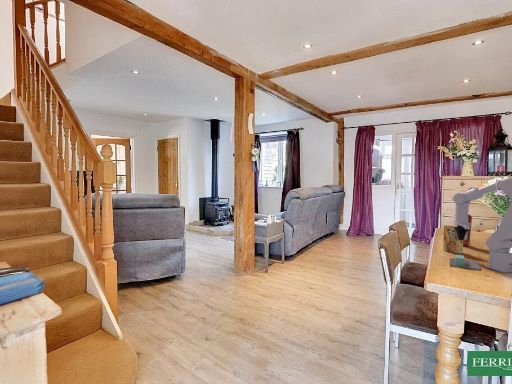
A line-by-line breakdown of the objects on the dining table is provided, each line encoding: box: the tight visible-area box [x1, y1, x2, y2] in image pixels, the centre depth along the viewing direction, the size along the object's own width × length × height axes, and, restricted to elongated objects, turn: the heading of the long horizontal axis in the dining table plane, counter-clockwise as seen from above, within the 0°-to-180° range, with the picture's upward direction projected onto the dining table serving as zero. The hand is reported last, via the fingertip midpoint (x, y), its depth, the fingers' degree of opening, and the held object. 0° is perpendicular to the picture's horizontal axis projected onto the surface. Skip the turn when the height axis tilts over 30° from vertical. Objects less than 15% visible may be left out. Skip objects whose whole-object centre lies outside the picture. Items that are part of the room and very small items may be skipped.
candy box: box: [442, 224, 464, 255], centre depth 167 cm, size 9×4×15 cm, turn 33°
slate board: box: [449, 257, 481, 271], centre depth 144 cm, size 14×12×1 cm
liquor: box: [463, 213, 473, 248], centre depth 179 cm, size 7×7×28 cm
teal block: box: [454, 254, 465, 266], centre depth 144 cm, size 4×4×6 cm
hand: (460, 239), depth 155 cm, fingers closed
